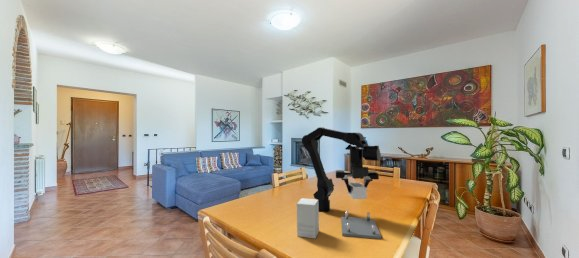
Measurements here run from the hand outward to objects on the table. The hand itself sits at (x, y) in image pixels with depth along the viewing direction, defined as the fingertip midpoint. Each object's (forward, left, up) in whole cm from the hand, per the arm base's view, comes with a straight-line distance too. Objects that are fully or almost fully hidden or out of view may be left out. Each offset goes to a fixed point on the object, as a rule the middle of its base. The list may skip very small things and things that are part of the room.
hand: (356, 193), depth 104 cm
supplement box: (-20, -21, -11) cm, 31 cm away
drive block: (0, 0, -1) cm, 1 cm away
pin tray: (0, -12, -11) cm, 16 cm away
